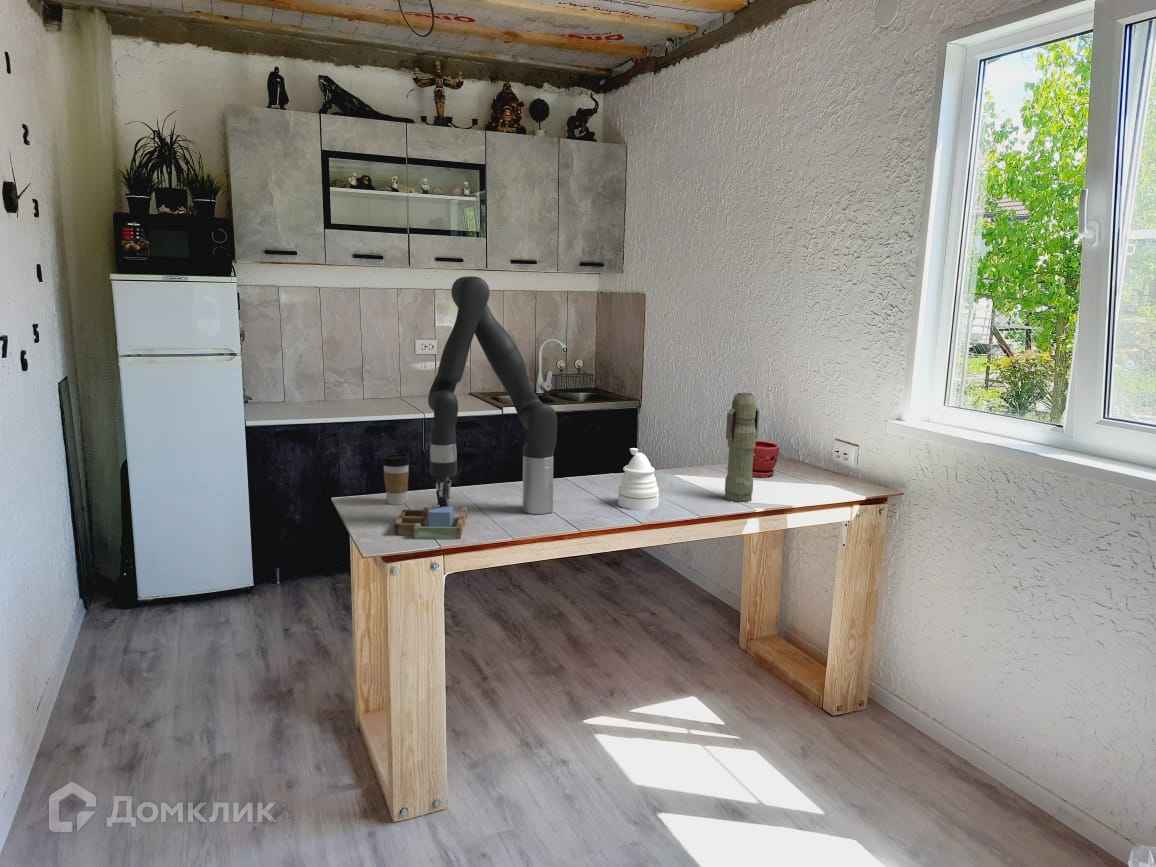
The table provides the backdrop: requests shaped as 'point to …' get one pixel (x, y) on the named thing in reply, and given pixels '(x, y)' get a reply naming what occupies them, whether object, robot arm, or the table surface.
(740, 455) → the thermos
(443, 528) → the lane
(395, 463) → the coffee cup
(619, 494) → the honey pot
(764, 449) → the plant pot
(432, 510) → the block
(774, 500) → the table surface
